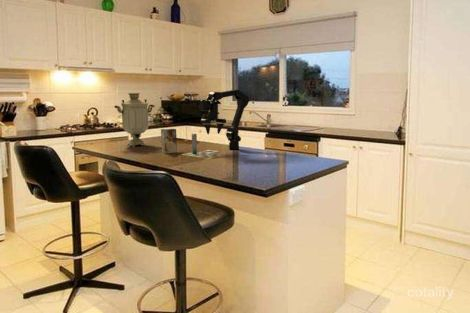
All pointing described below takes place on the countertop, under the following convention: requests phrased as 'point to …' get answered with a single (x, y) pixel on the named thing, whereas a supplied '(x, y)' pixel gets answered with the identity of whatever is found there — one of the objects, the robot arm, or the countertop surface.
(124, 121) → the samovar
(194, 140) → the key rod
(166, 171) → the countertop surface
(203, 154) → the board
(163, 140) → the coffee box
